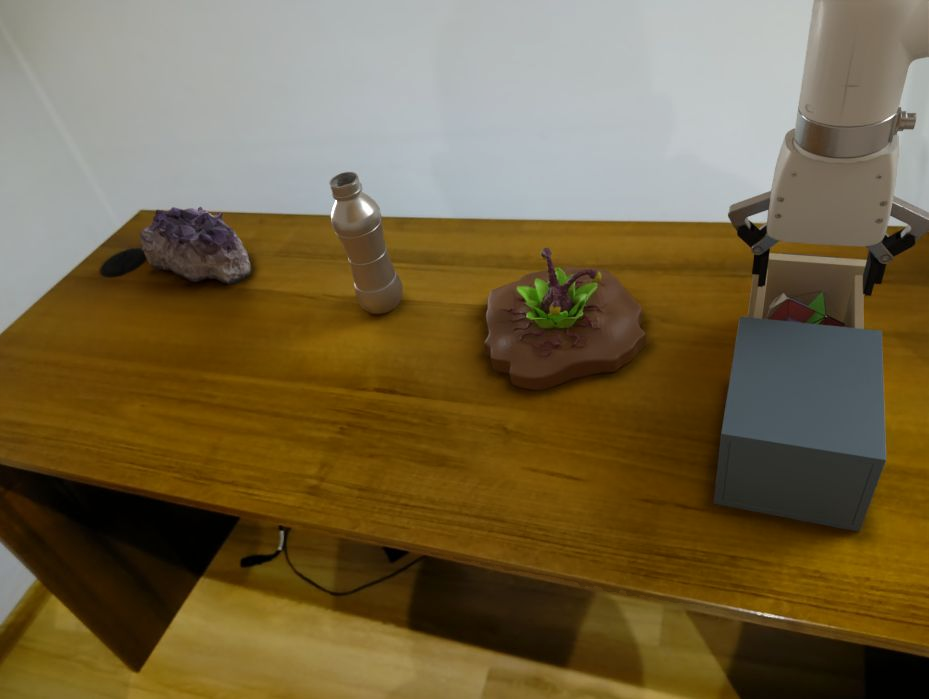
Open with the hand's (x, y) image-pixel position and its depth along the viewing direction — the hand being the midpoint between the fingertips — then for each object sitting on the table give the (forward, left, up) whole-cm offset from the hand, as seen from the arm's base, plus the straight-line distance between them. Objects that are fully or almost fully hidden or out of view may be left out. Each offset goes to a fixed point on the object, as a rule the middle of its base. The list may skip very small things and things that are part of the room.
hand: (813, 282), depth 73 cm
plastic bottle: (+43, -31, -12) cm, 55 cm away
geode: (+70, -55, -12) cm, 89 cm away
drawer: (-1, -1, -11) cm, 11 cm away
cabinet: (+7, +11, -11) cm, 17 cm away
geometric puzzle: (0, 0, -9) cm, 9 cm away
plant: (+22, -16, -12) cm, 30 cm away
